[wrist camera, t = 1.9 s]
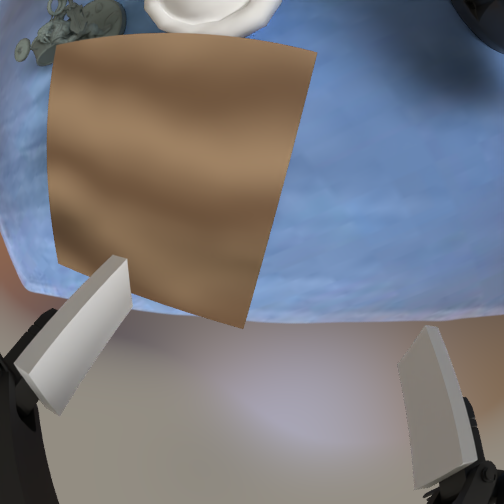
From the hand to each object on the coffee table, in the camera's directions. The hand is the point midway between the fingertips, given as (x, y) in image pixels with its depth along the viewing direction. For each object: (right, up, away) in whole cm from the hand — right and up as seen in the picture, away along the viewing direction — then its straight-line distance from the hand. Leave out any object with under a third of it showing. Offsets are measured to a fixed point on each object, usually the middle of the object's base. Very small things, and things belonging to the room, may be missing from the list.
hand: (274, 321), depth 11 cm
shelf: (-4, +16, +19) cm, 25 cm away
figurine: (-22, +32, +13) cm, 41 cm away
